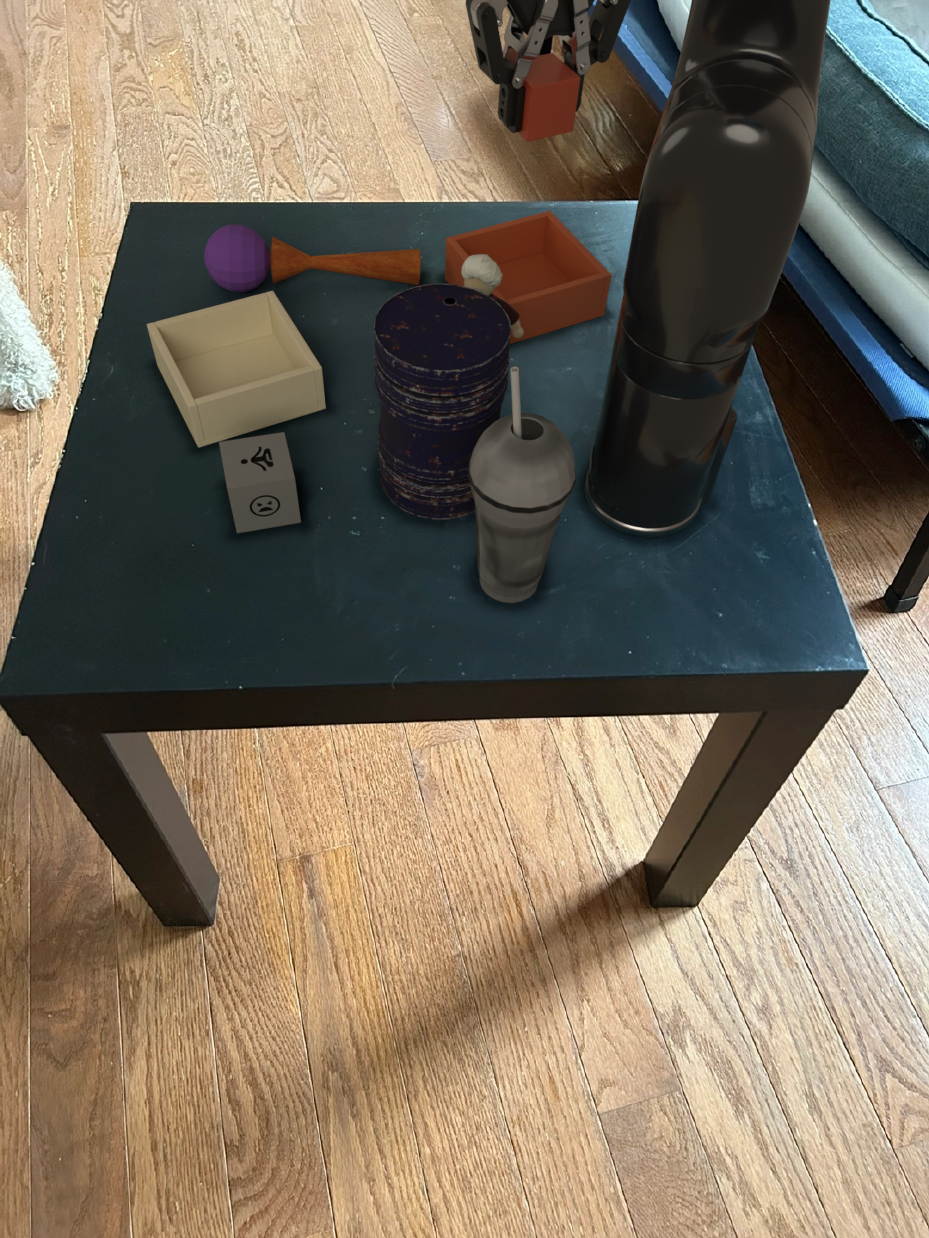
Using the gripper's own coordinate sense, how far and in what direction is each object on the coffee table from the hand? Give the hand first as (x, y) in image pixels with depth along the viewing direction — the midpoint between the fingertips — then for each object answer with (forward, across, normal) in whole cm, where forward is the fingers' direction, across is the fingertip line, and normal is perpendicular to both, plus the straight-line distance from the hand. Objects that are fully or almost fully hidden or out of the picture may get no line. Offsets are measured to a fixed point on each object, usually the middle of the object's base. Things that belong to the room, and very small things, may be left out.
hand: (538, 121), depth 82 cm
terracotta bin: (+17, 0, 0) cm, 17 cm away
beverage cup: (+17, -18, -30) cm, 39 cm away
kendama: (+18, -17, +10) cm, 26 cm away
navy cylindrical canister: (+17, -18, -18) cm, 31 cm away
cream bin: (+17, -29, -1) cm, 33 cm away
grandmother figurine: (+17, -10, -9) cm, 22 cm away
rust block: (0, 0, 0) cm, 0 cm away
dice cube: (+17, -32, -15) cm, 39 cm away
